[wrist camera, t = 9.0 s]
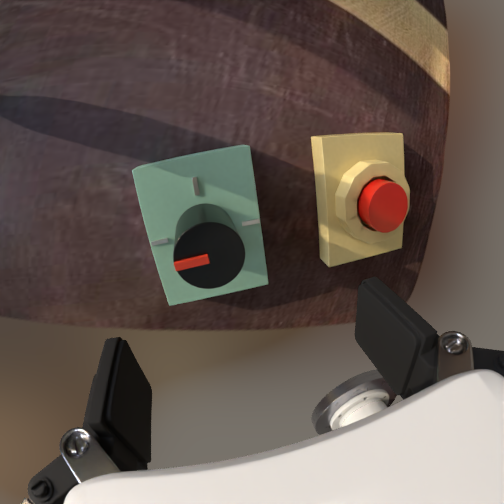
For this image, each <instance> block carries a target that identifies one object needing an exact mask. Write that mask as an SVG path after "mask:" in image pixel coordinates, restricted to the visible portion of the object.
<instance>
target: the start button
mask: <svg viewBox="0 0 504 504" xmlns="http://www.w3.org/2000/svg"><path fill="white" fill-rule="evenodd" d="M407 208H408V199H407V195H406V193H405V191H404V189H403V188H402V187H401V186H400V185H399V184H397V183H394V182H391V181H388V180H385V179H375V180H372V181H370V182H369V183H368V184H367V185H366V186H365V187H364V188H363V189H362V191H361V193H360V196H359V199H358V213H359V216H360V218H361V219H362V221H363V222H364V223H365V224H367V225H368V226H370V227H372V228H373V229H375V230H377V231H378V232H382V233H388V232H391V231H393V230H395V229H396V228H397V227H399V226H400V224H401V223H402V222H403V220H404V218H405V216H406V213H407Z"/></svg>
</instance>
